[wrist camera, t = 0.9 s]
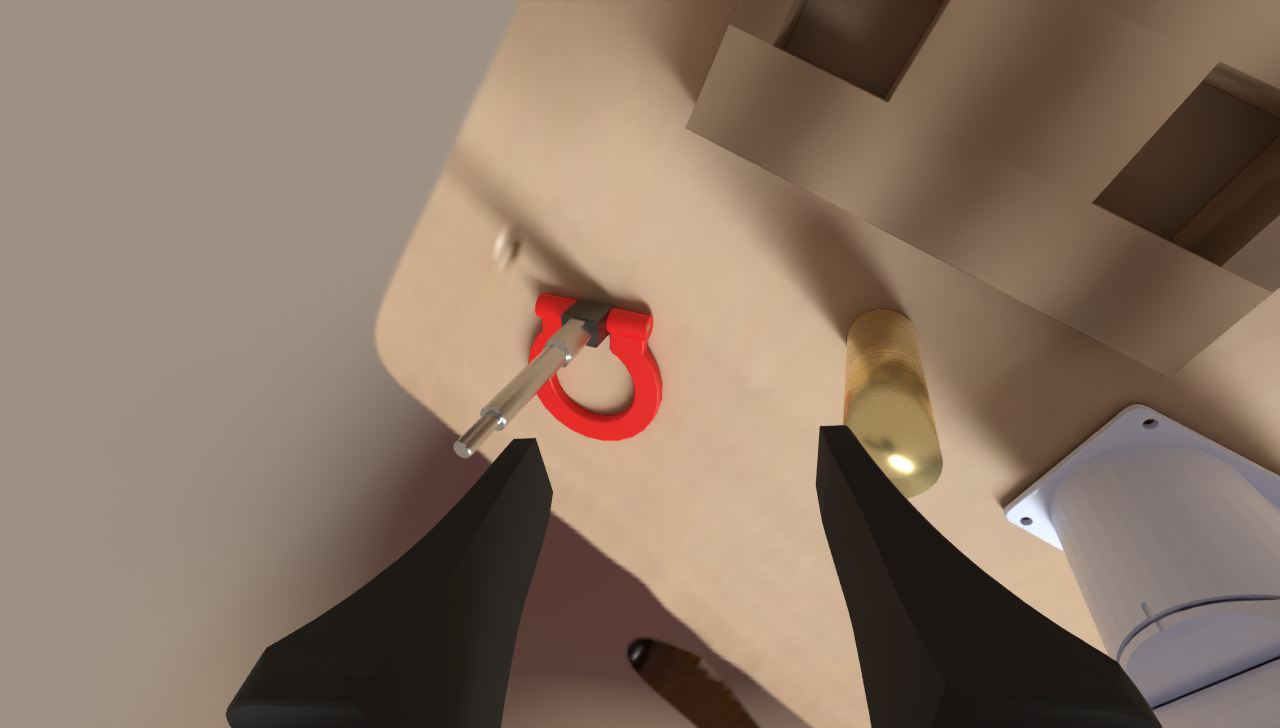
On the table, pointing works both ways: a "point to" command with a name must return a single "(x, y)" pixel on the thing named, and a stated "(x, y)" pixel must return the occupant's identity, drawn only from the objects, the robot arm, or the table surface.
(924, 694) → the robot arm
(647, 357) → the tow hook
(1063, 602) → the table surface
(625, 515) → the table surface
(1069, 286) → the hole block
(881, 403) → the brass pin
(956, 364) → the table surface
